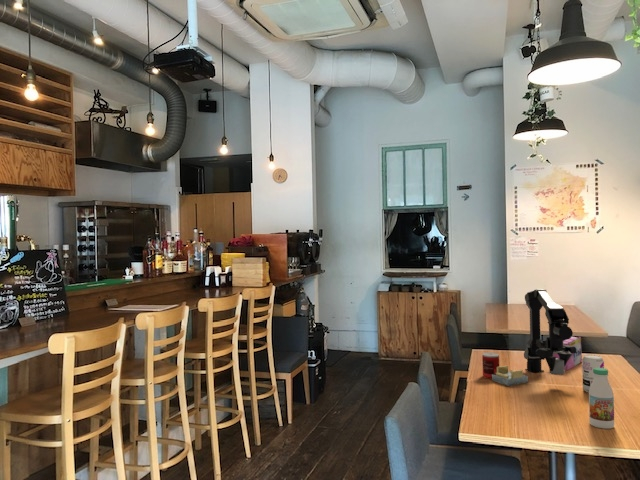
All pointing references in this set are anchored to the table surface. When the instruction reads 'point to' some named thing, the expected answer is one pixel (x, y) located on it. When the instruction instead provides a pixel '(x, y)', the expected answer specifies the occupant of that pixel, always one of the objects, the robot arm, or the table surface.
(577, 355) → the pink drink carton pack
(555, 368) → the grey rounded piece
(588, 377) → the supplement can
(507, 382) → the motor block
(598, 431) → the table surface
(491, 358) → the canned food
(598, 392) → the milk bottle
